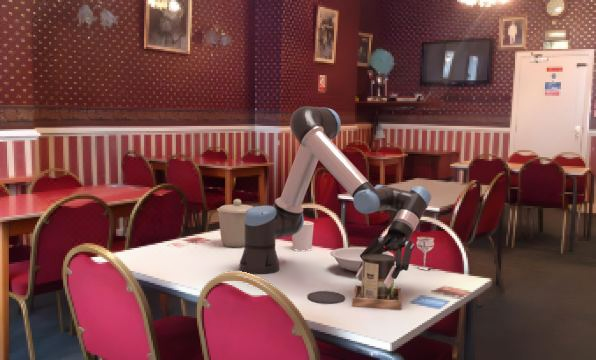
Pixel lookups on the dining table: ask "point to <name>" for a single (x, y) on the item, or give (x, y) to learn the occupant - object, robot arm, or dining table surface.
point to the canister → (233, 223)
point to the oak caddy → (376, 300)
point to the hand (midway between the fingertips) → (372, 282)
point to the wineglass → (425, 245)
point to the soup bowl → (350, 257)
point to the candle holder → (303, 237)
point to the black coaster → (326, 297)
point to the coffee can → (376, 276)
